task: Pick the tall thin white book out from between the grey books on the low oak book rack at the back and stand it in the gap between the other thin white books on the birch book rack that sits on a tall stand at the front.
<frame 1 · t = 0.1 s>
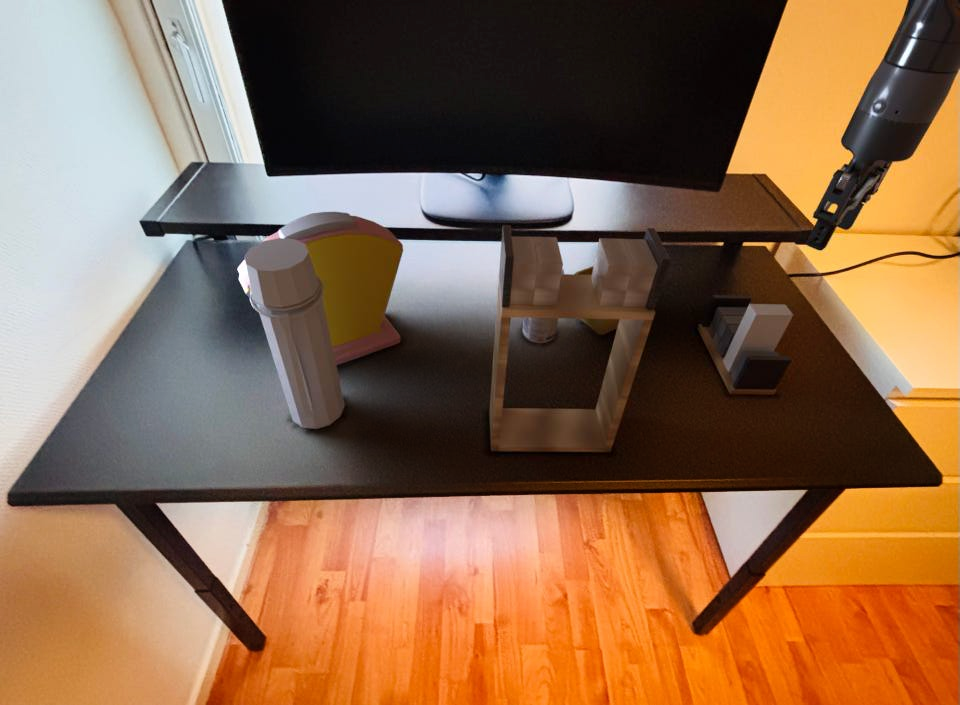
hand: (828, 236, 71), 21 cm above the table, tool pointing down, fingers open, 8 cm apart
white rack: (572, 299, 57), resting on birch stand
white book: (742, 366, 81), point 1 cm above the table, touching grey rack
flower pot: (601, 324, 89), on the table
water bottle: (318, 418, 72), on the table
grey rack: (733, 359, 84), on the table
birch stand: (548, 431, 71), on the table
yellow napkin holder: (340, 345, 83), on the table
energy drink: (538, 334, 87), on the table
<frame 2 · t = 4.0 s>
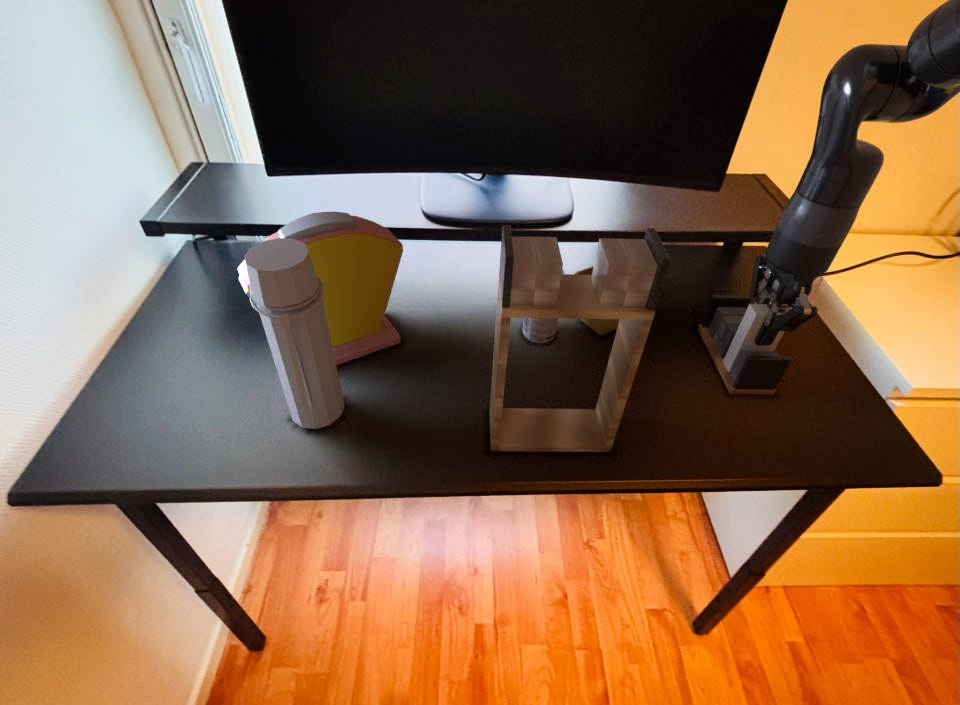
hand: (757, 336, 77), 7 cm above the table, tool pointing down, fingers closed on white book, 2 cm apart
white book: (742, 367, 81), point 1 cm above the table, touching grey rack, gripper
everything else where it was.
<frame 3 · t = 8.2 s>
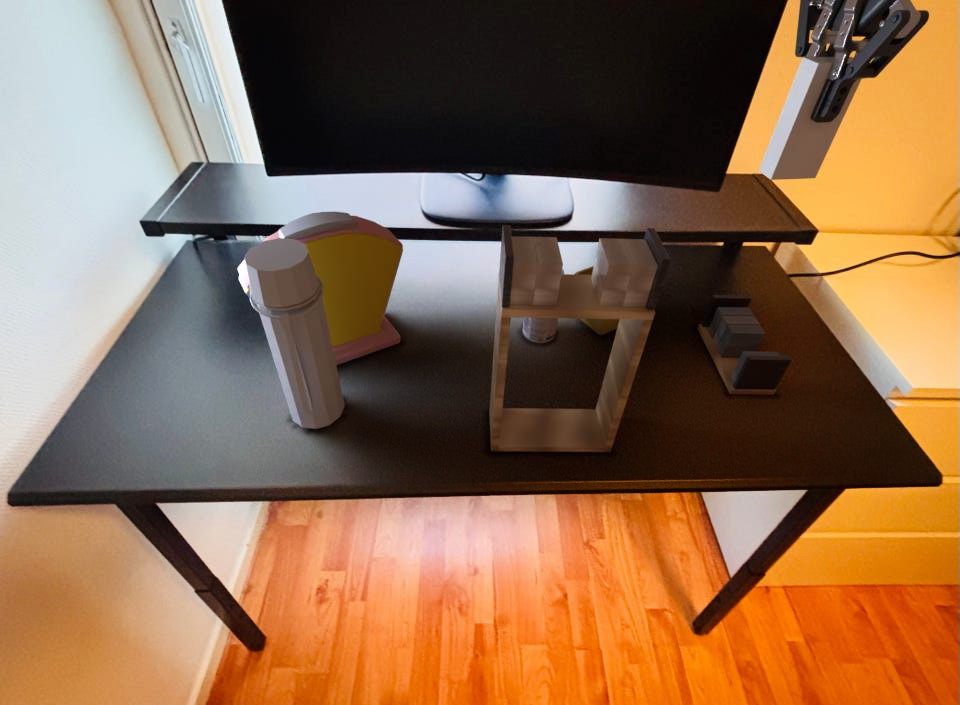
hand: (811, 115, 53), 39 cm above the table, tool pointing down, fingers closed on white book, 2 cm apart
white book: (786, 174, 57), point 33 cm above the table, touching gripper
everything else where it was.
when the fingers open (29 cm above the table, at t = 12.7 s): white book stays where it is, resting on white rack.
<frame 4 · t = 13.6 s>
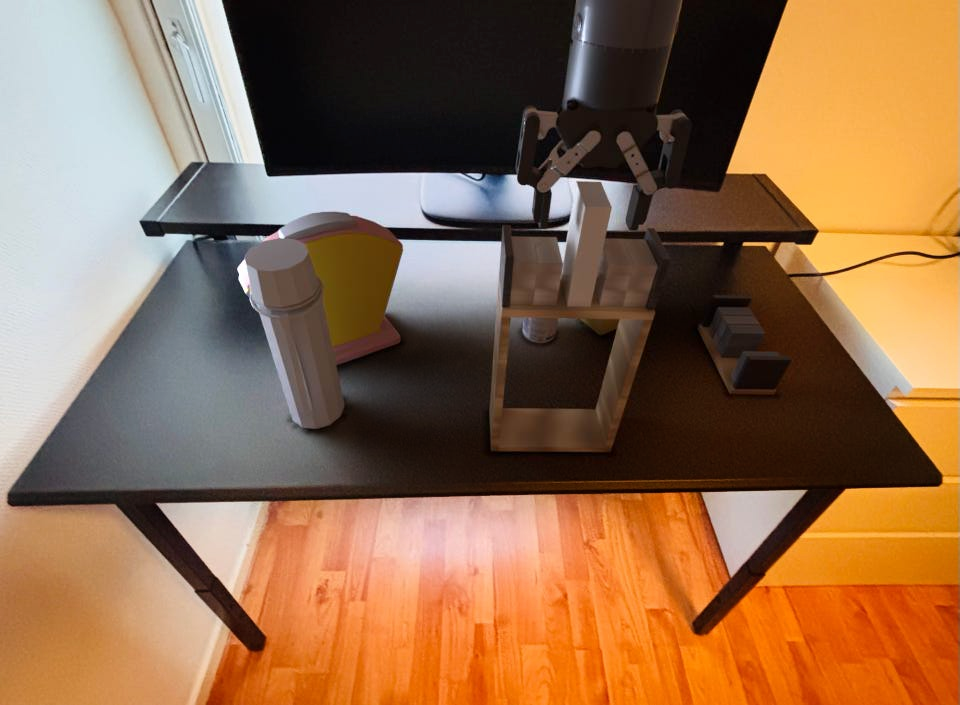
hand: (586, 225, 51), 31 cm above the table, tool pointing down, fingers open, 8 cm apart
white book: (574, 292, 56), point 23 cm above the table, touching white rack
everything else where it was.
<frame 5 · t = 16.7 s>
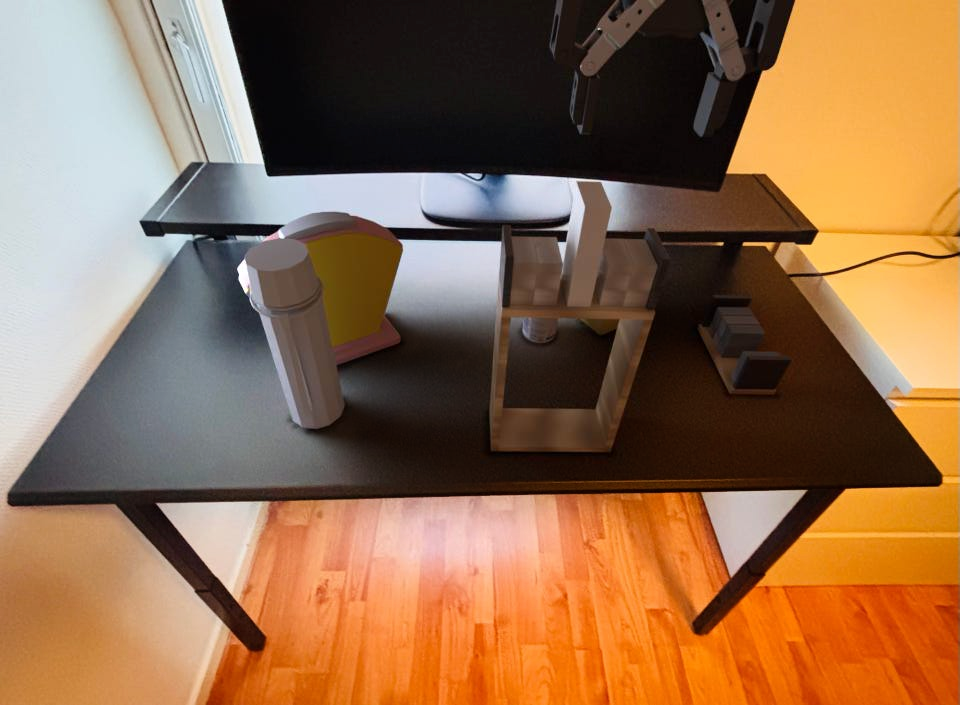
hand: (642, 131, 38), 42 cm above the table, tool pointing down, fingers open, 8 cm apart
nothing on the table moved.
at the end: white book 0.1 cm off-centre on the white rack, point 1.0 cm above the white rack's base; white book tilted 0°; the gripper is holding nothing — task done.
